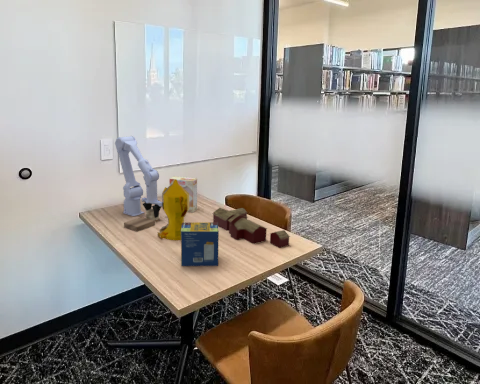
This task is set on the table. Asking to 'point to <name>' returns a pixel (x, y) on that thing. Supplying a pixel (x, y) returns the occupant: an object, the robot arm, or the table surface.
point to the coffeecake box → (188, 190)
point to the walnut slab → (139, 224)
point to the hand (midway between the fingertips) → (152, 216)
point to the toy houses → (247, 228)
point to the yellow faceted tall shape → (174, 210)
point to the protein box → (199, 244)
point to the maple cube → (151, 214)
